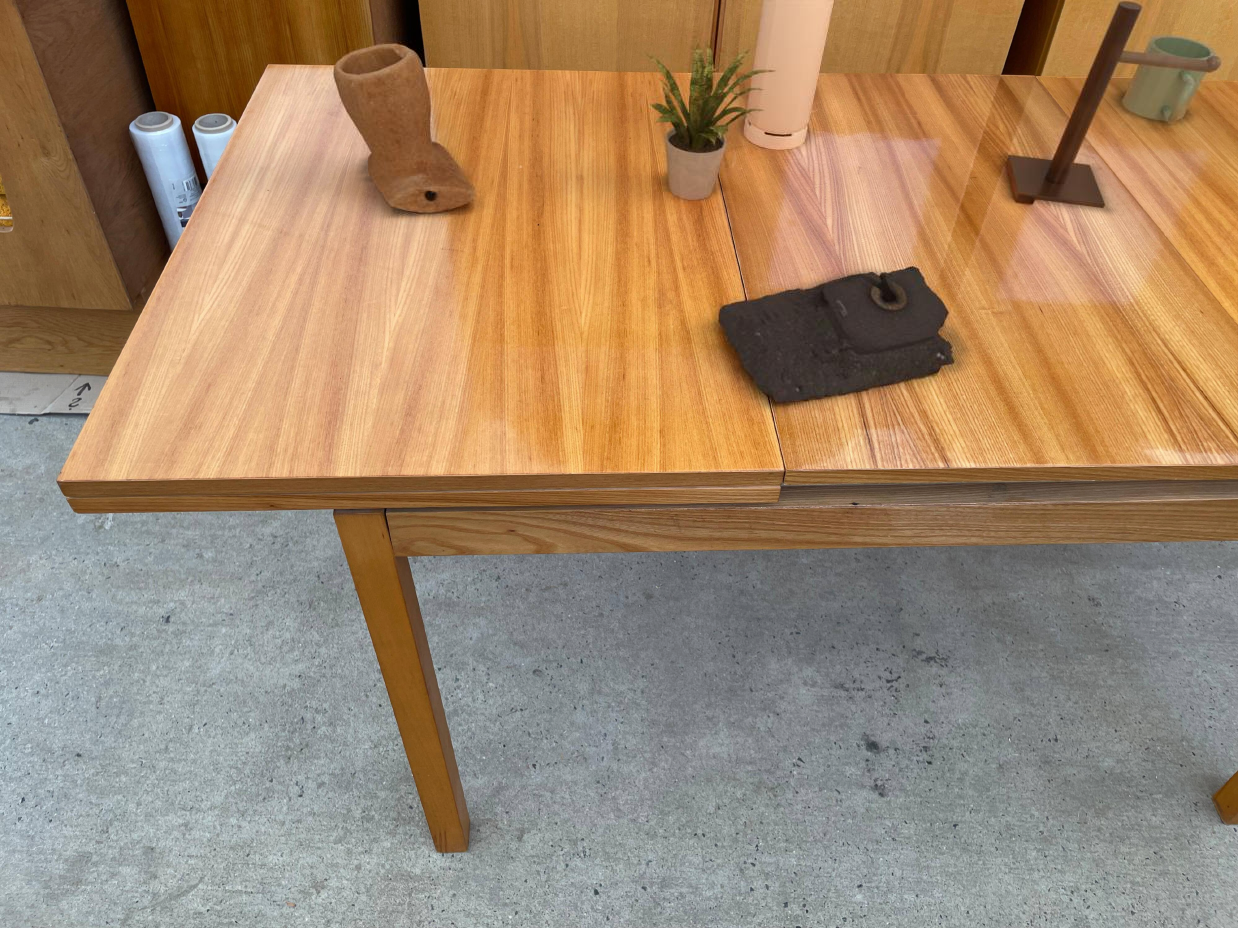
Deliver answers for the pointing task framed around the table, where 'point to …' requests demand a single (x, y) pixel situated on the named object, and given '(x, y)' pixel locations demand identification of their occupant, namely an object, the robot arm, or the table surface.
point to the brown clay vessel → (399, 129)
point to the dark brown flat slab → (840, 335)
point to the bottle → (786, 71)
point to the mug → (1166, 81)
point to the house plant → (699, 125)
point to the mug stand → (1089, 120)
